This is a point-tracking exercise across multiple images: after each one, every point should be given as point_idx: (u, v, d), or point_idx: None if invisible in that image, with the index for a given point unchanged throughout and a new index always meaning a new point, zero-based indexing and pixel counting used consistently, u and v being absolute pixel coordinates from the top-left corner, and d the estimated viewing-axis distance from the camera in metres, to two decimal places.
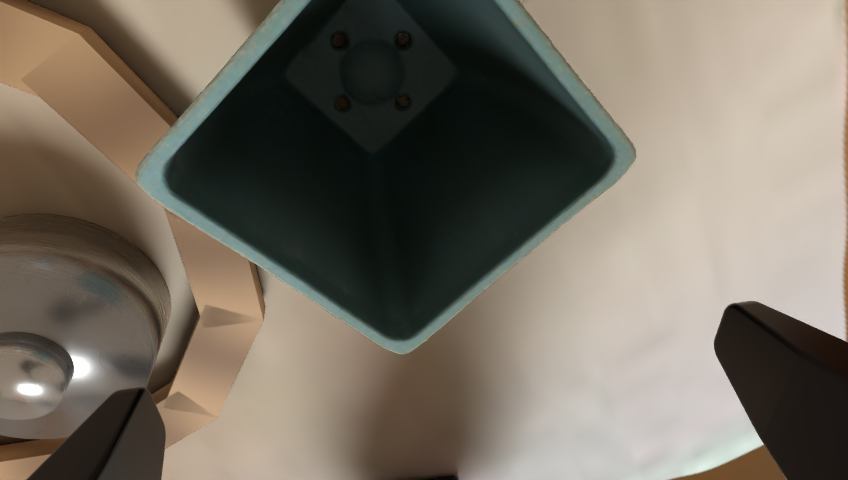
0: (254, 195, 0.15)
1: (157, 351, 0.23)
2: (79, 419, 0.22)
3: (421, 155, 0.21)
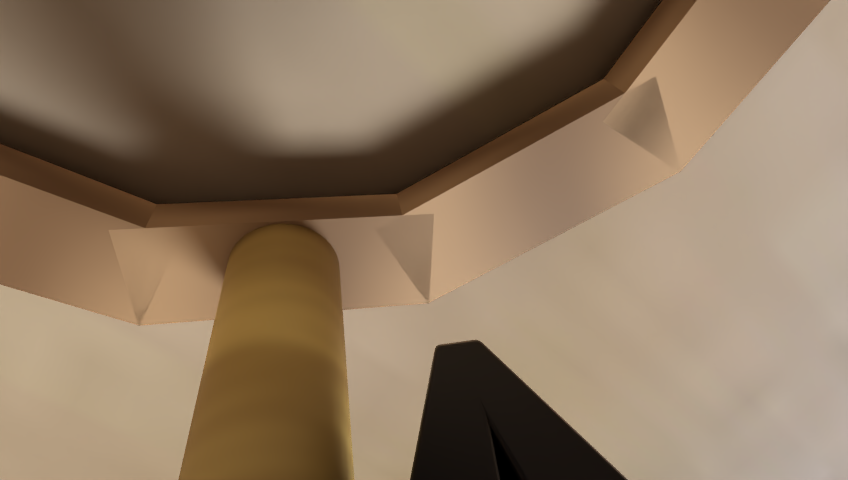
0: None
1: None
2: None
3: None
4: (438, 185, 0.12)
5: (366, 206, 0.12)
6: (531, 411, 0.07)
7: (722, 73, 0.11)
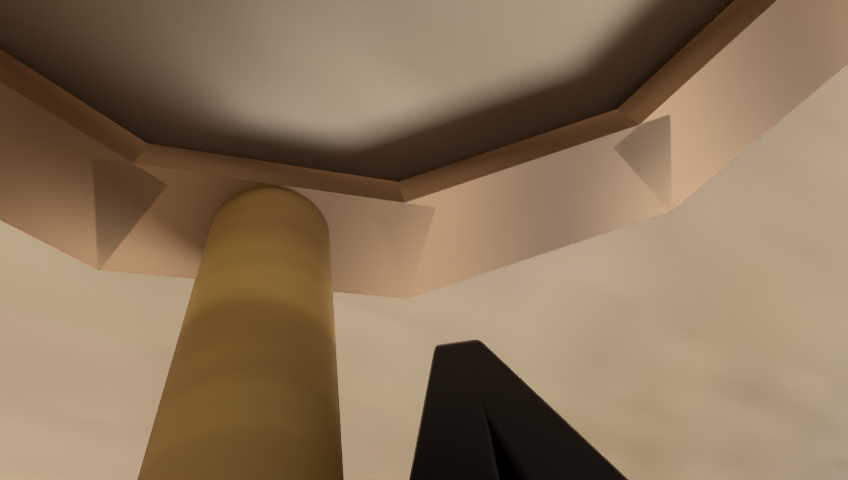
0: None
1: None
2: None
3: None
4: (443, 179, 0.12)
5: (368, 187, 0.12)
6: (531, 411, 0.07)
7: (727, 124, 0.12)
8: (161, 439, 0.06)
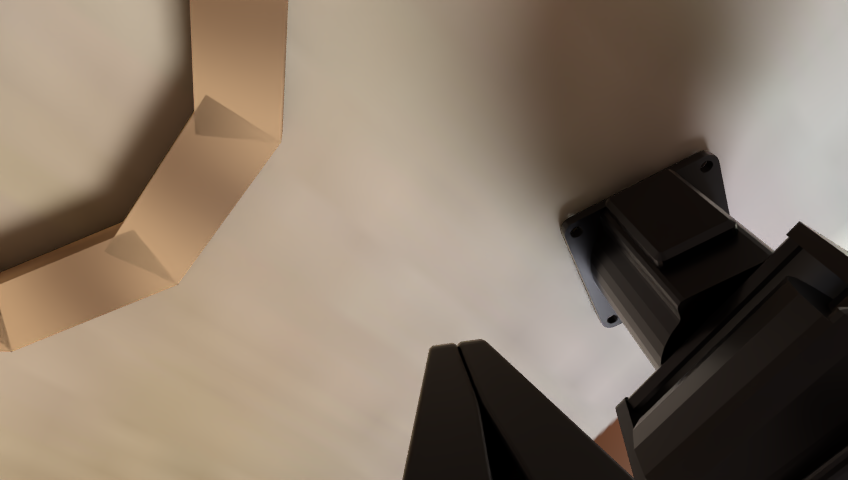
0: None
1: None
2: None
3: None
4: None
5: None
6: (537, 410, 0.07)
7: None
8: None
